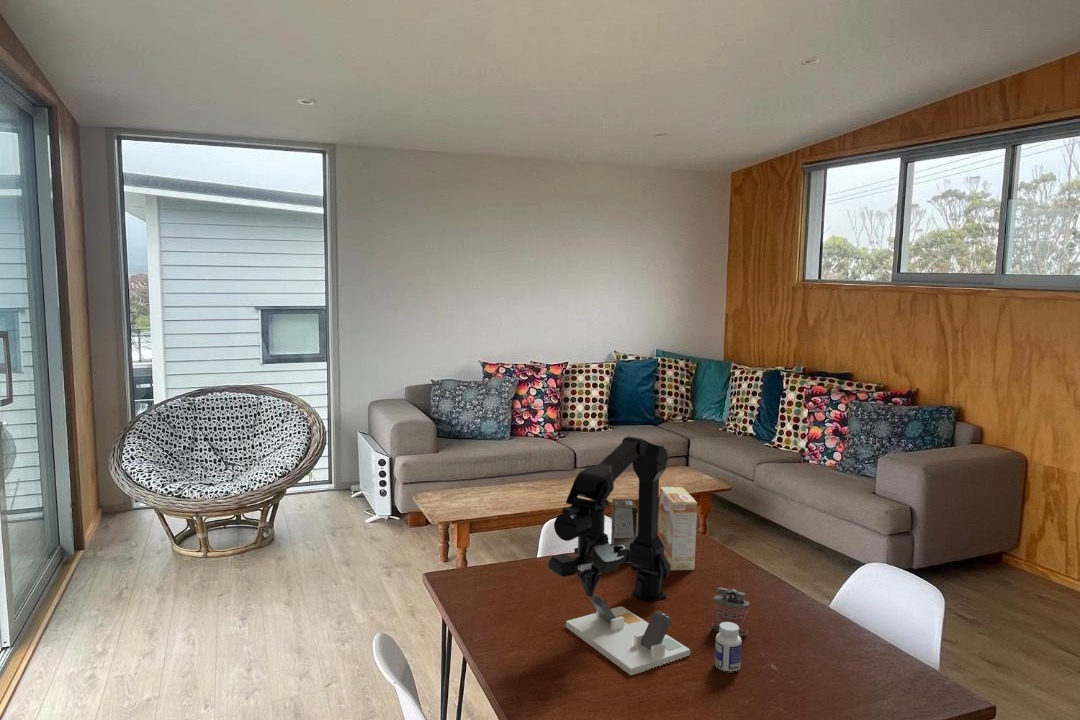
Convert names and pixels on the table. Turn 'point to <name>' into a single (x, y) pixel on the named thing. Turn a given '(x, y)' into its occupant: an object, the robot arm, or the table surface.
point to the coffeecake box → (678, 527)
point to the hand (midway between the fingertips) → (589, 595)
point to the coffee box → (623, 522)
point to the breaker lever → (602, 608)
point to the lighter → (731, 609)
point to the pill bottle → (728, 647)
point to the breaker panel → (630, 639)
